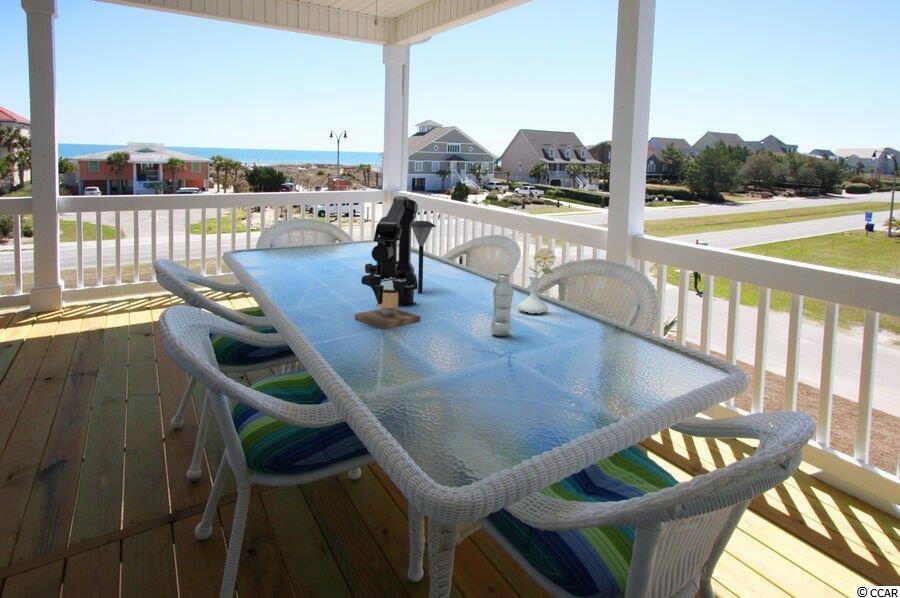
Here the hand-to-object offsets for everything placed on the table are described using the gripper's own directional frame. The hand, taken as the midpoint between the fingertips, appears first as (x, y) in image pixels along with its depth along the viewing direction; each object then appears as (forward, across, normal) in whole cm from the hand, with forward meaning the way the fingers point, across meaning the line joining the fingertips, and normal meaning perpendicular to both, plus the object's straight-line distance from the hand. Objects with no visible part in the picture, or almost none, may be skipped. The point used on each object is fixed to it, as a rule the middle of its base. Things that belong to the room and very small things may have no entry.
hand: (387, 302), depth 208 cm
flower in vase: (+7, -51, +25) cm, 57 cm away
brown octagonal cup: (+1, 0, 0) cm, 1 cm away
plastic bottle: (+6, -17, +37) cm, 41 cm away
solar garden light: (+7, -39, -26) cm, 47 cm away
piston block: (+6, 0, 0) cm, 6 cm away
